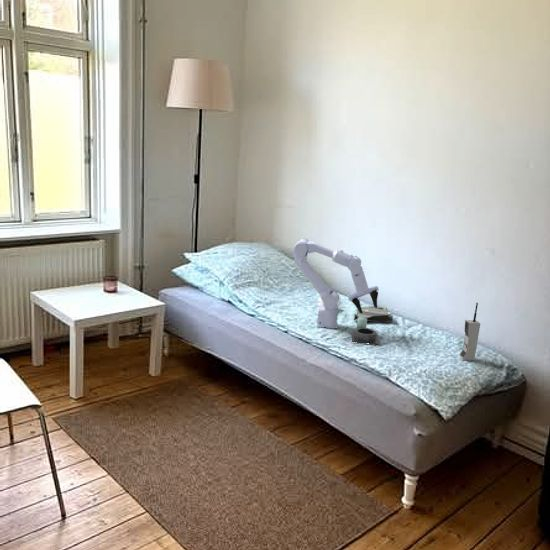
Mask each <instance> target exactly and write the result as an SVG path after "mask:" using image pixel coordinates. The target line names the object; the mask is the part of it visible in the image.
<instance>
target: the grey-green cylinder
mask: <svg viewBox="0 0 550 550" xmlns="http://www.w3.org/2000/svg"><path fill="white" fill-rule="evenodd" d="M367 325H368V321H367V318H365V317H358V320H357V319H356V329H357V328H367Z"/></svg>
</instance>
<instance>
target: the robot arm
mask: <svg viewBox="0 0 550 550" xmlns="http://www.w3.org/2000/svg"><path fill="white" fill-rule="evenodd" d="M312 253H313V254H314V253H318V254H319V255H322V256H326V257H328V258H331V260H332V262H333V263H336V264H338V265H340V266H343V267H347V269H348V270H349V271H350V274H351V278H352V279H351V280H352V281H353V284H354V288H355V292H354V293H353V294H351V295H347V297H348V301H350V302H351V303H352V304H353V305H354V306H355V307H356V309H357V311H358V310H359V312H360V313H363V312H362V309H361V307H362V306H361V300H360V299H359V298H361V297H364V296H366V295H368V294H369V296H370V298H371V301H372V304H373V306H374V307H376V308H377V307H378V297H379V290H380V289H379V286H378V285H375V286H372V287H369V284H368V282H367V279H366V275H365V272H364V271H363V266H362V260H361V258H360V257H358V256H357V255H353V254H348V253H347V252H344V250H342V249H340V250H339V249H337V250H332V249H331V248H328V247H326V246H324V245H321V244H319V243H317V242H316V241H313V240H309V239H307V238H300V239H299V240H298V241H297V242H296V243H295V244H294V246H293V249H292V254H293V258H294V264H295V266H296V267H297V268H298V270H299V271H300V272H301V273H302V275H304V277H305V278H306V279H307V281H308V282H309V283H310V284H311V285H312V287H313V288H314V289H315V291H316V292H317V293H318V295H319V297H320V298H321V300H322V301H323V304H324V305H323V306H322V307H319V306H318V312H317V317H316V322H317V324H316V325H317V327H318V328H324V327H326V328H325V329H335V328H337V329H338V327H339V326H338V315H339V307H338V306H337V302H340V301H339V300H340V295H339V293H337V292H336V291H334V290H332V288H331V287H329V286H327V284H326V283H325V282H324V281H323V279H322V278H321V276H319V274H318V273H317V272H316V271H315V269H314V268H313V267H312V266H311V264H310V263H309V261H308V260H307V259H308V254H312Z"/></svg>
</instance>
